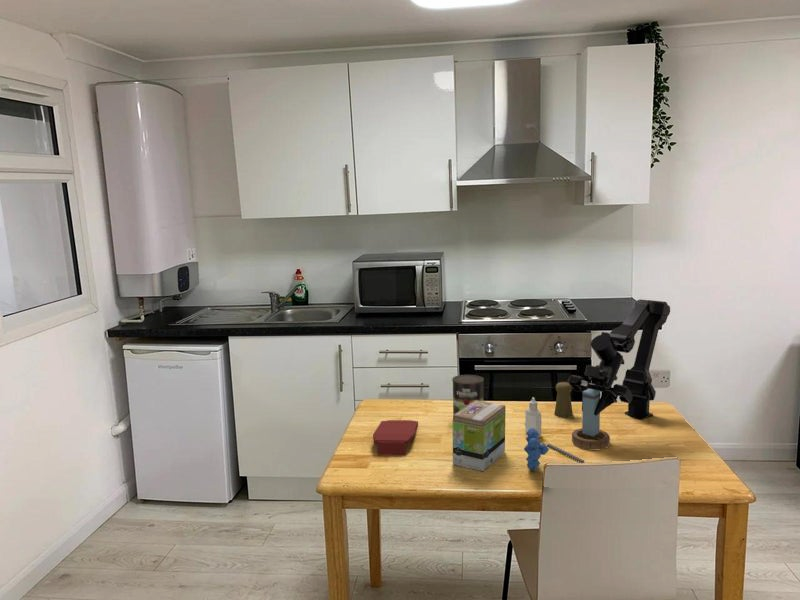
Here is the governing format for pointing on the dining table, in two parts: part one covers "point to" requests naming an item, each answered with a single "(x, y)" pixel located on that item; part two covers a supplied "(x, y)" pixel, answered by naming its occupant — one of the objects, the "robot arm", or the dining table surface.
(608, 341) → the robot arm
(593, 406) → the blue-gray square peg
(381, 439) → the red lunch box
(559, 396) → the cork
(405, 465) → the dining table surface
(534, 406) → the eye dropper bottle
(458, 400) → the coffee can
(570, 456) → the thin gray square rod
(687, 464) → the dining table surface
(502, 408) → the tea box
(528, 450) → the grapes
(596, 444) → the bead ring
